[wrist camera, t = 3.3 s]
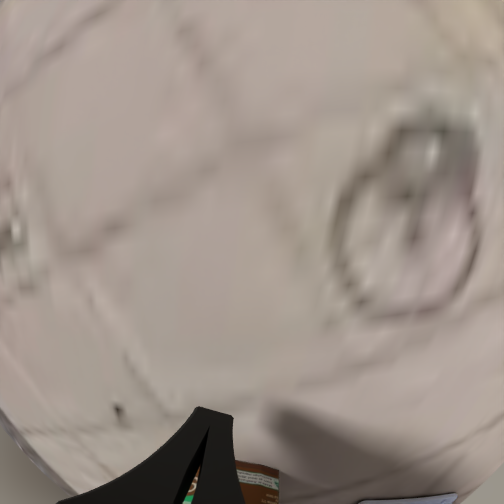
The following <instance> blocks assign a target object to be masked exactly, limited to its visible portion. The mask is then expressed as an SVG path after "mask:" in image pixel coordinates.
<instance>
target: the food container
mask: <svg viewBox="0 0 504 504" xmlns="http://www.w3.org/2000/svg"><path fill="white" fill-rule="evenodd" d="M235 464H236V469H237V474H238V478H239V483H240V486H241V490H242V493H243V497H244V500H245V503H246V504H279V470H276V469H273V468H270V467H267V466H264V465H259V464H254V463H248V462H243V461H237V460H235ZM200 465H201V464H200ZM199 470H200V467H199V469H198V471H197V473H196V476H195V478H194V480H193V482H192V485H191V487H190V489H189V491H188V493H187V495H186V498H185V500H184V502H183V504H191V502H192V499H193V496H194V493H195V489H196V484H197V479H198V474H199Z"/></svg>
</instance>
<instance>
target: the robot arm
mask: <svg viewBox="0 0 504 504" xmlns="http://www.w3.org/2000/svg"><path fill="white" fill-rule="evenodd" d="M233 419H234V418H233V417H232V416H231V415H228V414H224V413H221V412H217V411H213V410H210V409H206V408H203V407H200V406H199V407H196V408H195V409H194V411H193V413H192V414H191V415H190V417H189V418H188V419H187V421H186V422H185V423H184V424H183V425H182V426H181V428H180V429H179V430H178V431H177V432H176V433H175V434H174V435H173V436H172V437H171V438H170V439H169V440H168V441H167V442H166V443H165V444H164V445H163V446H161V447H160V448H159V449H158V450H157V451H156V452H154V453H153V454H152V455H151V456H150V457H148V458H147V459H146V460H144V461H143V462H142V463H140V464H139V465H137V466H136V467H134V468H133V469H131V470H130V471H128V472H127V473H125V474H123V475H121V476H120V477H118V478H116V479H114V480H113V481H111V482H109V483H107V484H104V485H102V486H100V487H98V488H95V489H93V490H91V491H88V492H86V493H83V494H80V495H77V496H74V497H71V498H68V499H64V500H61V501H58V502H57V503H56V504H183V502H184V500H185V498H186V495H187V493H188V491H189V489H190V487H191V485H192V482H193V480H194V478H195V476H196V473H197V471H198V469H199V467H200V470H199V474H198V479H197V484H196V489H195V493H194V496H193V499H192V502H191V504H246V503H245V500H244V497H243V493H242V490H241V486H240V483H239V478H238V474H237V469H236V464H235V457H234V449H233ZM200 464H201V465H200ZM457 497H458V496H457V494H456V493H453V494H446V495H439V496H431V497H422V498H412V499H397V500H365V501H361V502H359V503H358V504H452V502H453V501H454V500H455V499H456V498H457Z"/></svg>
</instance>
